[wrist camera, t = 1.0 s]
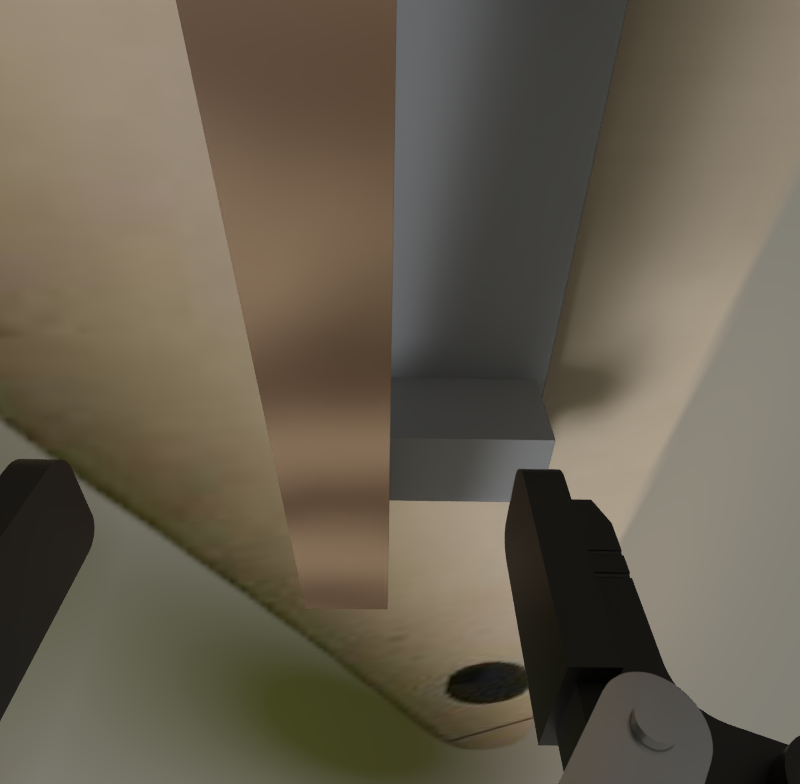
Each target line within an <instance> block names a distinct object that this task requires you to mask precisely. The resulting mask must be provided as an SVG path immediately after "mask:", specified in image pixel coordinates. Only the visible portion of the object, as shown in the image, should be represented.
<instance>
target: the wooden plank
mask: <svg viewBox="0 0 800 784" xmlns="http://www.w3.org/2000/svg"><path fill="white" fill-rule="evenodd" d="M176 3H177V7H178V12H179V17H180V22H181V26H182V31H183V36H184V40H185V45H186V50H187V54H188V59H189V64H190V68H191V73H192V78H193V83H194V87H195V92H196V97H197V101H198V106H199V111H200V115H201V120H202V125H203V129H204V134H205V139H206V144H207V148H208V153H209V158H210V162H211V167H212V172H213V176H214V181H215V186H216V191H217V195H218V200H219V205H220V209H221V214H222V219H223V223H224V228H225V233H226V237H227V242H228V247H229V252H230V256H231V261H232V266H233V270H234V275H235V280H236V284H237V289H238V294H239V298H240V303H241V308H242V313H243V317H244V322H245V327H246V331H247V336H248V341H249V345H250V350H251V355H252V360H253V364H254V369H255V374H256V378H257V383H258V388H259V392H260V397H261V402H262V406H263V411H264V416H265V421H266V425H267V430H268V435H269V439H270V444H271V449H272V453H273V458H274V463H275V467H276V472H277V477H278V482H279V486H280V491H281V496H282V500H283V505H284V510H285V514H286V519H287V524H288V528H289V533H290V538H291V543H292V547H293V552H294V557H295V561H296V566H297V571H298V575H299V580H300V585H301V590H302V594H303V599H304V604H305V608H321V609H387V606H388V547H389V484H390V418H391V351H392V284H393V217H394V151H395V84H396V17H397V0H176Z"/></svg>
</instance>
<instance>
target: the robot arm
mask: <svg viewBox="0 0 800 784" xmlns="http://www.w3.org/2000/svg"><path fill="white" fill-rule="evenodd" d="M93 537H94V519H93V516H92V514H91V511H90V509H89V507H88V504H87V502H86V500H85V498H84V495H83V493H82V491H81V488H80V486H79V484H78V482H77V479H76V477H75V475H74V473H73V470H72V468H71V466H70V465H69V464H68V463H67V462H66V461H64V460H46V459H44V460H43V459H41V460H40V459H18V460H15V461H13V462H12V463H10V464H9V465H8V467H7V468H6V469H5V470H4V471H3V473H2V474H1V475H0V720H1V718H2V716H3V714H4V712H5V711H6V709H7V707H8V705H9V703H10V701H11V699H12V697H13V695H14V693H15V692H16V690H17V688H18V686H19V684H20V682H21V680H22V678H23V676H24V674H25V673H26V670H27V669H28V667H29V665H30V663H31V661H32V659H33V657H34V655H35V653H36V652H37V650H38V648H39V646H40V644H41V642H42V640H43V638H44V636H45V634H46V632H47V631H48V629H49V627H50V625H51V623H52V621H53V619H54V617H55V615H56V614H57V612H58V610H59V607H60V606H61V604H62V602H63V600H64V598H65V596H66V594H67V593H68V591H69V589H70V587H71V585H72V583H73V581H74V579H75V577H76V575H77V574H78V572H79V570H80V568H81V566H82V564H83V562H84V560H85V558H86V556H87V554H88V552H89V550H90V548H91V545H92V542H93ZM505 553H506V561H507V567H508V572H509V578H510V584H511V590H512V595H513V601H514V607H515V613H516V618H517V624H518V630H519V636H520V642H521V647H522V653H523V659H524V665H525V670H526V676H527V682H528V688H529V693H530V699H531V705H532V711H533V717H534V722H535V728H536V734H537V739H538V745H558V746H559V751H560V756H561V761H562V766H563V771H564V773H563V775H562V777H561V779H560V781H559V783H558V784H800V736H798V737H797V738H795V739H794V740H793V741H792V742H791V743H790V744H789V745H787V744H784V743H781V742H778V741H776V740H772V739H770V738H767V737H764V736H761V735H758V734H755V733H752V732H749V731H746V730H744V729H741V728H737V727H735V726H732V725H729V724H727V723H724V722H722V721H719V720H717V719H715V718H714V717H712V716H710V715H708V714H707V713H705V712H704V711H702V710H701V709H699V708H698V707H697V706H696V704H695V703H694V702H693V700H692V699H691V698H690V697H689V696H688V695H687V694H686V693H685V692H683V691H682V690H681V689H680V688H679V687H677V686H676V685H675V683H674V682H673V681H672V679H671V678H670V676H669V674H668V672H667V670H666V668H665V666H664V664H663V661H662V658H661V656H660V653H659V650H658V647H657V645H656V642H655V639H654V637H653V634H652V631H651V629H650V626H649V623H648V620H647V618H646V615H645V613H644V610H643V607H642V604H641V601H640V599H639V596H638V593H637V591H636V588H635V585H634V583H633V580H632V578H630V576H629V574H630V572H629V569H628V566H627V564H626V561H625V558H624V556H623V555H622V554H621V547H620V545H619V542H618V539H617V537H616V534H615V531H614V529H613V526H612V523H611V522H610V521H609V520H608V519H607V517H606V516H605V515H604V514H603V513H602V512H601V511H600V509H599V508H598V507H597V506H596V505H595V504H594V503H593V501H592V500H572V499H571V497H570V493H569V490H568V487H567V484H566V480H565V477H564V475H563V473H562V471H561V470H555V469H518V470H517V472H516V475H515V480H514V485H513V490H512V495H511V500H510V505H509V510H508V515H507V520H506V526H505Z"/></svg>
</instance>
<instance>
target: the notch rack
mask: <svg viewBox="0 0 800 784" xmlns="http://www.w3.org/2000/svg"><path fill="white" fill-rule="evenodd" d="M627 3H628V0H397V17H396V84H395V151H394V217H393V284H392V351H391V418H390V484H389V500H405V501H479V502H510V500H511V495H512V490H513V485H514V480H515V475H516V472H517V470H518V469H548V468H549V464H550V460H551V456H552V452H553V448H554V444H555V438H554V435H553V431H552V428H551V425H550V422H549V419H548V416H547V413H546V410H545V406H544V403H543V400H542V396H543V392H544V387H545V382H546V378H547V373H548V369H549V364H550V359H551V355H552V350H553V345H554V341H555V336H556V332H557V327H558V322H559V318H560V313H561V308H562V304H563V299H564V295H565V290H566V285H567V281H568V276H569V271H570V267H571V262H572V258H573V253H574V248H575V244H576V239H577V235H578V230H579V225H580V221H581V216H582V211H583V207H584V202H585V198H586V193H587V188H588V184H589V179H590V174H591V170H592V165H593V161H594V156H595V151H596V147H597V142H598V137H599V133H600V128H601V124H602V119H603V114H604V110H605V105H606V100H607V96H608V91H609V87H610V82H611V77H612V73H613V68H614V63H615V59H616V54H617V50H618V45H619V40H620V36H621V31H622V27H623V22H624V17H625V13H626V8H627Z"/></svg>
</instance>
